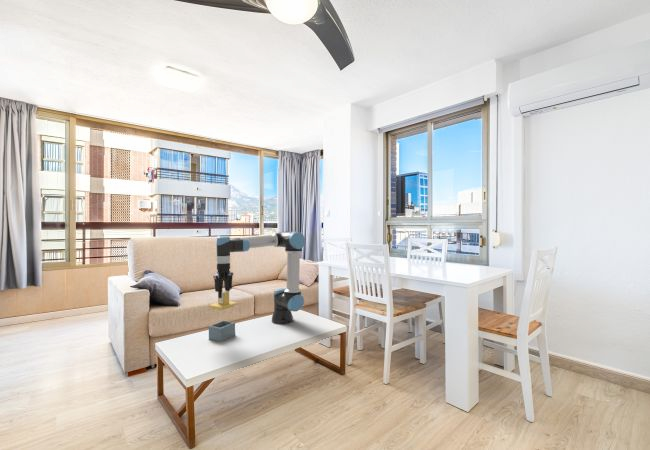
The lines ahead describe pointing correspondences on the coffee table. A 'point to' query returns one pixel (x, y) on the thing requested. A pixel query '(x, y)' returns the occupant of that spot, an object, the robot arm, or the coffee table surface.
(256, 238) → the robot arm
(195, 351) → the coffee table surface
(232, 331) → the box
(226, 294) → the lid
